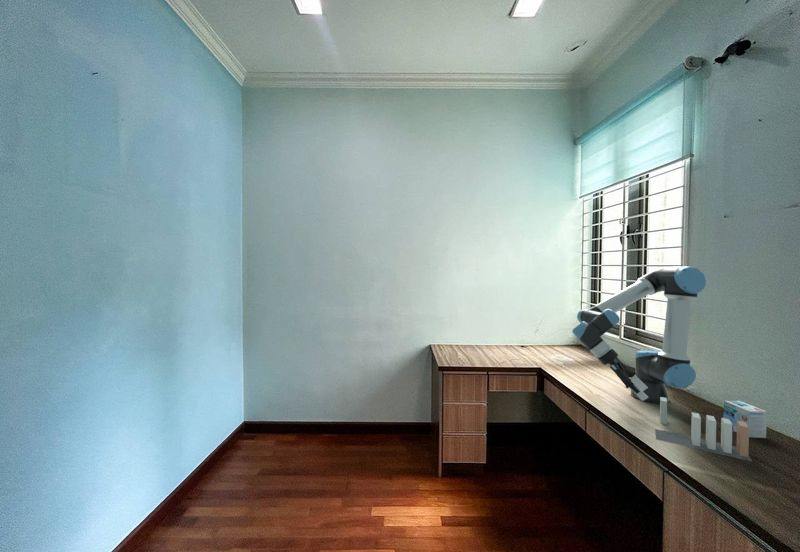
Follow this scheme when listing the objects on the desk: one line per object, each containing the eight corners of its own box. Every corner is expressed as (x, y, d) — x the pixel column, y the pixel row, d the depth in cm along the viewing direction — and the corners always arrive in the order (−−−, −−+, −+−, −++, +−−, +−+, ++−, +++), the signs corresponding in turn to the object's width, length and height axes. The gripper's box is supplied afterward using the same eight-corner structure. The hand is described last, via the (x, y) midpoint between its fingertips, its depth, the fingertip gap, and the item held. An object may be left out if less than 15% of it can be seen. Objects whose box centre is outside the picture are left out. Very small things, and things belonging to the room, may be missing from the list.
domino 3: (705, 442, 122) (706, 414, 122) (713, 444, 121) (713, 416, 121) (707, 448, 118) (708, 419, 118) (715, 450, 117) (716, 421, 117)
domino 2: (691, 439, 125) (691, 412, 124) (698, 440, 123) (698, 413, 123) (692, 444, 121) (693, 416, 120) (700, 446, 119) (700, 418, 119)
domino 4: (720, 445, 120) (721, 417, 120) (728, 447, 119) (729, 419, 119) (723, 451, 116) (724, 422, 116) (731, 453, 115) (732, 424, 115)
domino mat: (655, 430, 133) (655, 428, 133) (744, 450, 118) (744, 448, 118) (656, 441, 125) (656, 439, 125) (752, 464, 110) (752, 461, 110)
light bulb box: (722, 426, 137) (722, 400, 137) (739, 426, 137) (740, 400, 136) (748, 439, 126) (749, 411, 126) (767, 440, 126) (768, 411, 126)
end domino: (736, 449, 118) (737, 420, 118) (744, 451, 117) (745, 422, 116) (739, 455, 114) (740, 426, 113) (748, 457, 112) (749, 427, 112)
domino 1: (659, 420, 142) (660, 396, 142) (665, 421, 141) (666, 397, 140) (660, 425, 138) (660, 400, 138) (666, 426, 137) (667, 401, 136)
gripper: (600, 352, 162) (637, 390, 154) (593, 364, 142) (636, 408, 133) (613, 342, 159) (652, 381, 150) (609, 353, 139) (654, 398, 130)
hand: (645, 394), depth 142 cm, fingers open, 13 cm apart
